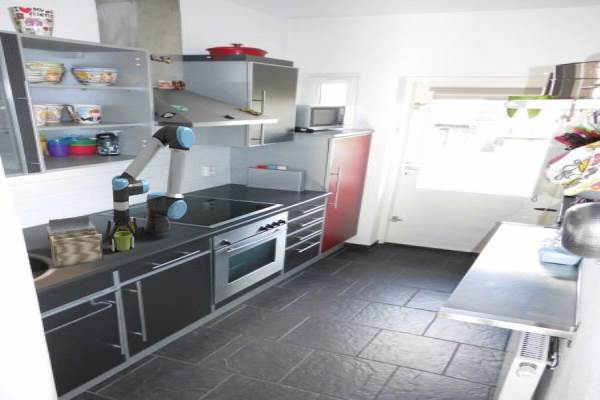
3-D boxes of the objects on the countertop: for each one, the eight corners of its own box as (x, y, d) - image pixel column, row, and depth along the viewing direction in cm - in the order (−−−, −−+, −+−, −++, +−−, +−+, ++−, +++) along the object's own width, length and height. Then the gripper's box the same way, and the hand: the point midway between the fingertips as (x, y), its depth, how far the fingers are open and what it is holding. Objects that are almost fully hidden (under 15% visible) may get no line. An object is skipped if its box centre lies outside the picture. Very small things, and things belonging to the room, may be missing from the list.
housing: (92, 241, 218) (90, 218, 215) (103, 259, 197) (101, 234, 194) (48, 248, 206) (46, 223, 203) (55, 268, 185) (53, 241, 182)
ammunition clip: (118, 237, 228) (117, 217, 225) (120, 236, 230) (119, 216, 227) (133, 240, 226) (133, 220, 222) (135, 239, 227) (135, 219, 224)
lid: (90, 222, 215) (90, 215, 214) (95, 229, 206) (95, 222, 205) (46, 227, 203) (46, 220, 202) (49, 235, 194) (48, 227, 193)
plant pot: (114, 246, 214) (113, 231, 212) (132, 245, 218) (132, 230, 216) (112, 253, 206) (112, 237, 204) (132, 251, 209) (131, 236, 207)
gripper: (141, 204, 216) (142, 243, 221) (96, 208, 202) (99, 249, 208) (145, 208, 210) (146, 247, 216) (99, 212, 197) (102, 254, 202)
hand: (123, 248), depth 212 cm, fingers open, 9 cm apart
